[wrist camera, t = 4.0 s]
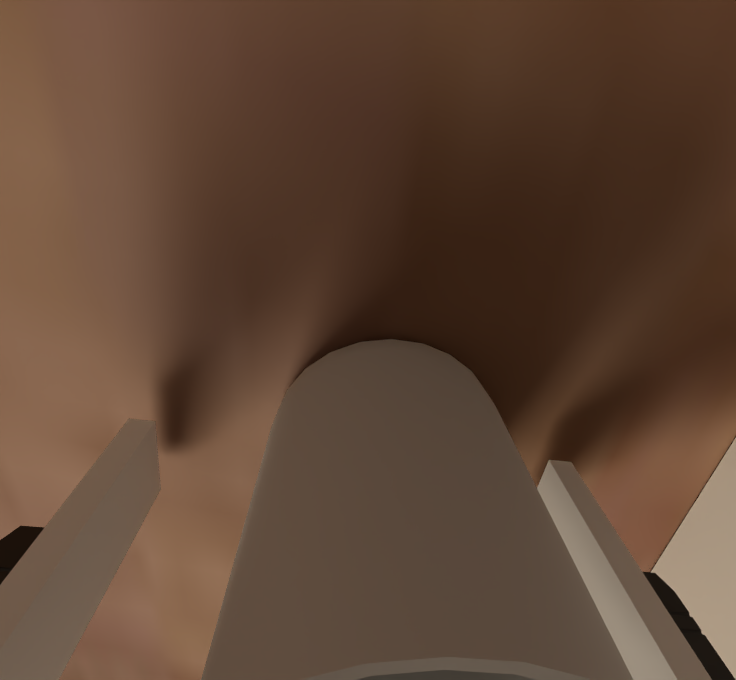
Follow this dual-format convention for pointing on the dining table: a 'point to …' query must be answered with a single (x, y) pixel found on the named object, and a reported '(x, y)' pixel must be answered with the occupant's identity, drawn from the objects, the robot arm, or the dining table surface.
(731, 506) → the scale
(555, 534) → the cup
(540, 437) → the dining table surface
